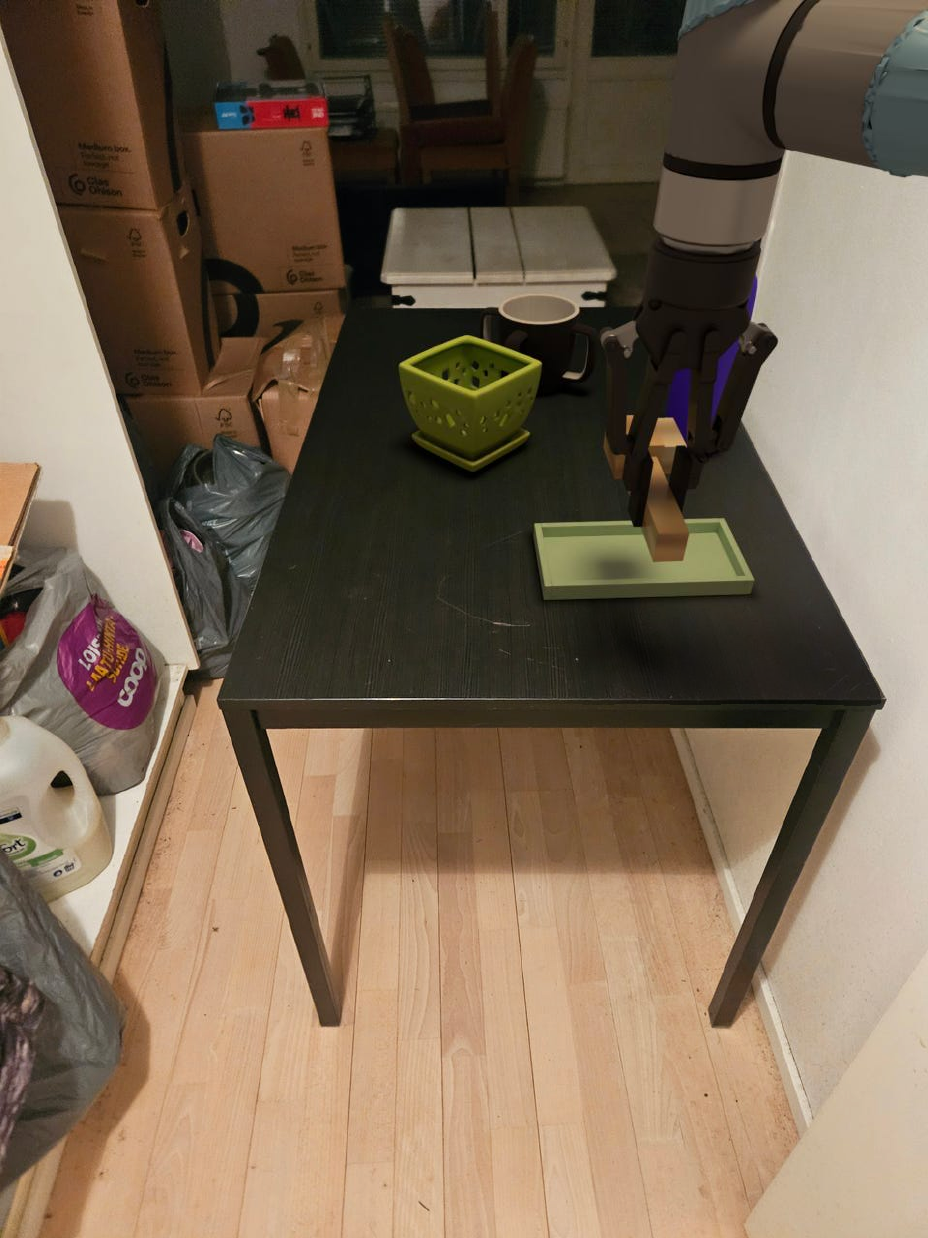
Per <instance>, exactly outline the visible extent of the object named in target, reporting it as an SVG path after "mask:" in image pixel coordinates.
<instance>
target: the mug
mask: <svg viewBox="0 0 928 1238" xmlns="http://www.w3.org/2000/svg"><path fill="white" fill-rule="evenodd" d="M580 311H581V310H580V306H579V305H578V304H577V303H576V302H575V301H573V300H571V299H569V298H567V297H564V296H560V295H557V294H549V293H525V294H520V295H515V296H512V297H509V298H507V299H505V300H503V301H501V302H500V304H499V305H498V307H495V306H487V307H486V308H484V309H483V310H482V311H481V314H480V317H479V339H482V340H485V341H488V342H491V343H492V338H491V336H492V335H491V330H492V329H491V328H492V327H491V325H492V317H496V318H497V332H498V333H497V334H498V345H499V346H502V347H505V348H508V349H511V350H513V351H516V352H518V353H521V354H524V355H526V356H529V357H531V358H534V359H536V360H538V361H540V362H541V363H542V369H541V376H540V381H539V385H538V389H537V393H536V395H542V394H543V395H544V394H549V393H552V392H554V391H557V390H558V389H560V388H561V387H562V386H563V385H564V383H565V382H568V383H573V384H582V383H584V382H586V381H587V380H589V379H590V377H591V376H592V374H593V372H594V370H595V368H596V366H597V365H596V364H597V359H598V353H599V344H600V343H599V342H600V339H599V333H598V331H597V329H596V328H595V327H592V326H589V325H586V324H583V323H580V314H581V313H580ZM578 334H579V335H583V336H586V340H587V345H586V355H585V363H584V367H583V370H582V371H581V372H573V371H570V367H571V364H572V360H573V356H574V351H575V348H576V342H577V336H578ZM502 374H503V378H504V377H506V376H508V375H509V373H508V372H506V371H503V370H502Z"/></svg>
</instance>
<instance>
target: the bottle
mask: <svg viewBox="0 0 928 1238" xmlns="http://www.w3.org/2000/svg"><path fill="white" fill-rule="evenodd" d="M757 291H758V277H757V274H756V275H755V279H754V283H753V287H752V291H751V295H750V297H749V300H748V311H749V314H750V320H751V321H752V318H753V312H754V308H755V303H756V298H757V293H758V292H757ZM738 341H739V339H738V340H737V341H736V342H735V343H734V344H733V345H732V346H731V347H730V348H729V349H728V350H727V351H726V352H725V353H724V354H723V355H722V357H721V358H720V359H719V361H718V372H717V381H716V382H715V383H714V394H713V405H712V417H711V424H712V421H713V418H714V415H715V412H716V409H717V406H718V404H719V401H720V398H721V395H722V392H723V389H724V386H725V383H726V381H727V378H728V375H729V372H730V369H731V366H732V363H733V361H734V358H735V355H736V353H737V351H738V349H739V346H738ZM690 374H691V371H690V370H689V369H683V370H679V371H676V372H675V375H674V378H673V381H672V384H671V385H669V392H668V398H667V403H666V409H665V415H664V416H665V417H664V418H673V419H674V421H675V423H676V425H677V427H678V429H679V431H680V433H681V435H682V437H683V439H684V441H685V443H686V445H687V441H686V436H687V421H688V405H689V390H690ZM713 453H714V452H711V453H709V454H710V455H711V454H713Z"/></svg>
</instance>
